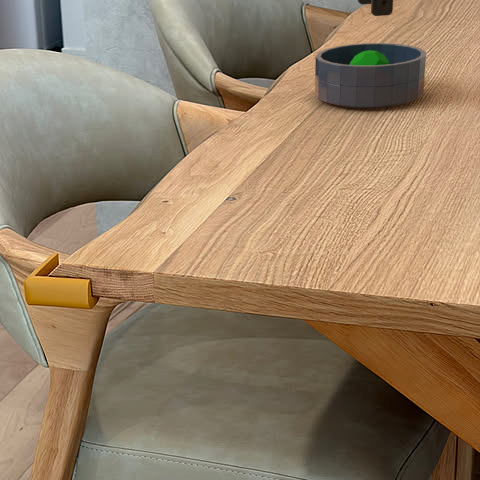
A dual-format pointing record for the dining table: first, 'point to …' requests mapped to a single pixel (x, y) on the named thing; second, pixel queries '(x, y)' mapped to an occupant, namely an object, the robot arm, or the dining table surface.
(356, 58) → the polyhedron
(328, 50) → the bowl
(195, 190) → the dining table surface
